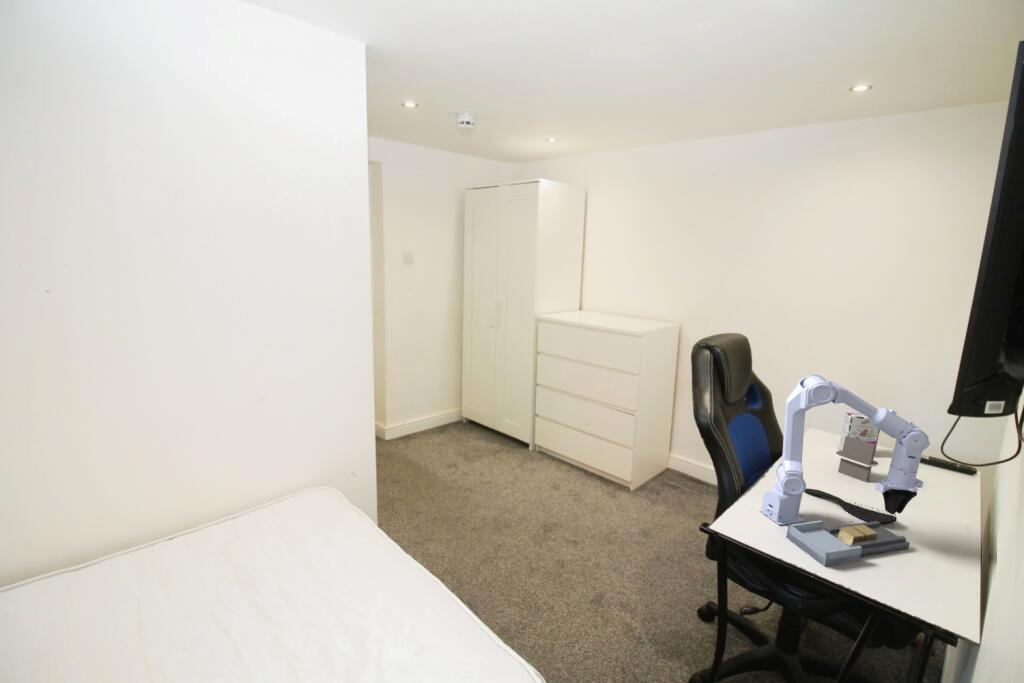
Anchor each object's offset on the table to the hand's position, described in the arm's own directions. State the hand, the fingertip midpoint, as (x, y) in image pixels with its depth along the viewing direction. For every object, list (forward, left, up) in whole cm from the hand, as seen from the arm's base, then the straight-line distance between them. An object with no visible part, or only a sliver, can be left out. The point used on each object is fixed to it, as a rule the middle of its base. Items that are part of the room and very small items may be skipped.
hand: (892, 511), depth 127 cm
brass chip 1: (-14, 0, -6) cm, 15 cm away
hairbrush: (+3, +15, -9) cm, 18 cm away
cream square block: (-9, 0, -6) cm, 11 cm away
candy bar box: (+47, +47, -9) cm, 67 cm away
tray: (-23, 0, -8) cm, 25 cm away
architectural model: (+27, +32, -9) cm, 42 cm away
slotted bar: (-8, 0, -8) cm, 12 cm away
